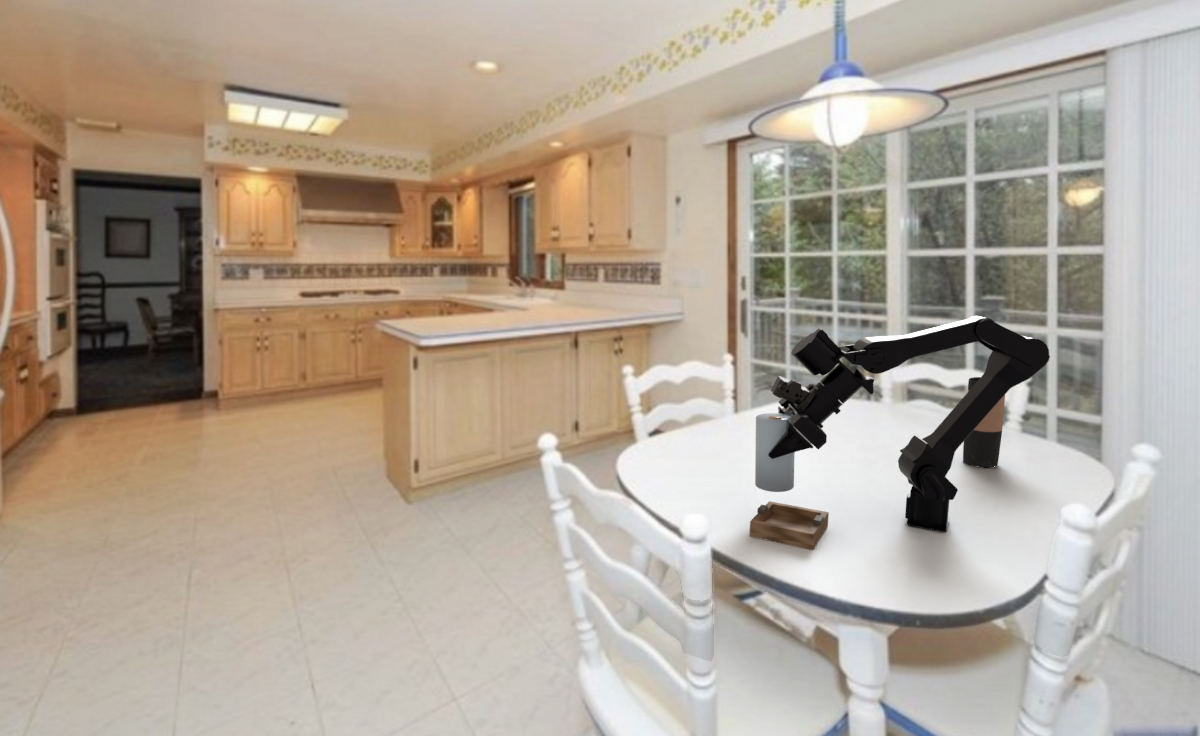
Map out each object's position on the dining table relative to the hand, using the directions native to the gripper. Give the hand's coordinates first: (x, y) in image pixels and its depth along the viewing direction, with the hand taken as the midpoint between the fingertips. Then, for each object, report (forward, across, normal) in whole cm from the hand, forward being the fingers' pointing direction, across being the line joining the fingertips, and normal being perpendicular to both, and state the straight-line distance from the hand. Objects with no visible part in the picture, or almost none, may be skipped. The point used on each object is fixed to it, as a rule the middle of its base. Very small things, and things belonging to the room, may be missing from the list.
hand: (767, 450), depth 120 cm
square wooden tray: (+7, +5, +12) cm, 15 cm away
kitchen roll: (+4, 0, +6) cm, 7 cm away
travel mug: (-28, -38, +48) cm, 67 cm away
